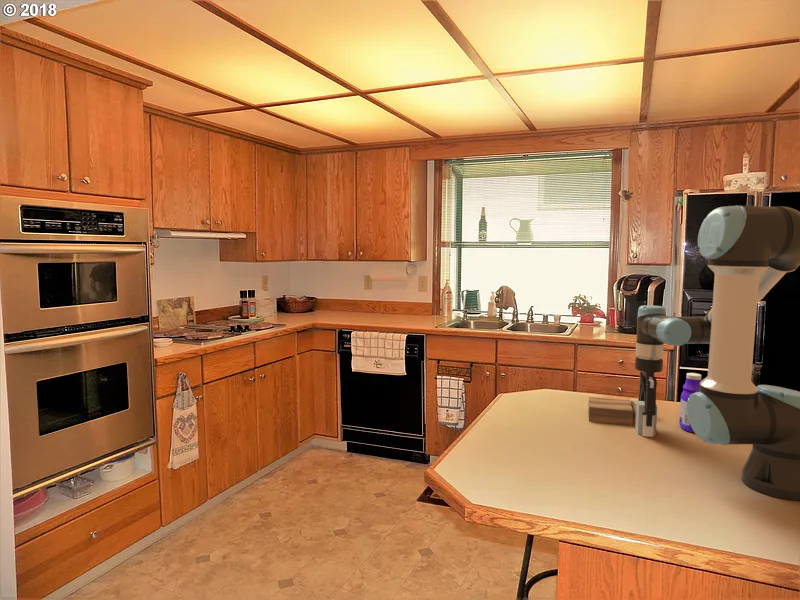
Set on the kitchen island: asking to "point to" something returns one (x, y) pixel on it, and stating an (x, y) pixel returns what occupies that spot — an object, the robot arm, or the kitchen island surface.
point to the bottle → (689, 388)
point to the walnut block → (610, 411)
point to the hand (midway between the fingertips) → (645, 431)
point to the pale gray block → (639, 418)
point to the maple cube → (634, 406)
